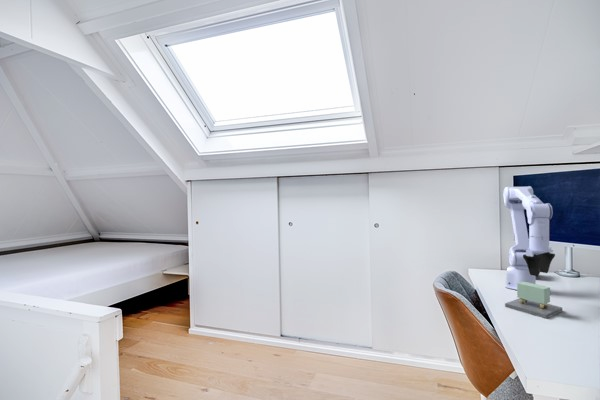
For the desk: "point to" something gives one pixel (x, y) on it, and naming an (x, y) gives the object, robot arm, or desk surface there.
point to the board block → (533, 292)
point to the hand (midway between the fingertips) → (538, 273)
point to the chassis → (534, 307)
